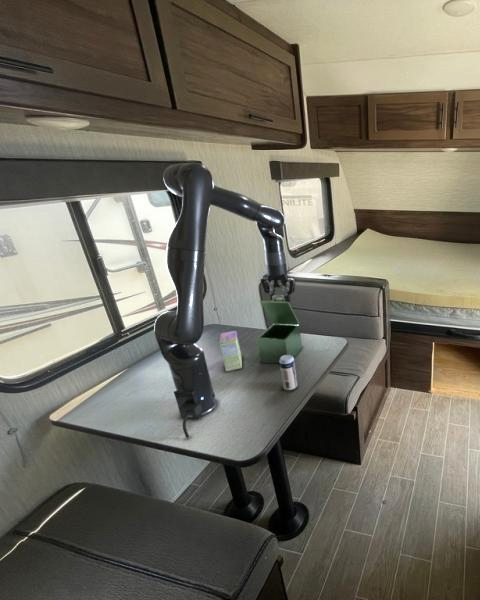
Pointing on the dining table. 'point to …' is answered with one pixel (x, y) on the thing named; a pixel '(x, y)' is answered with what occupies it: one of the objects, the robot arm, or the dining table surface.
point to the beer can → (288, 372)
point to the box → (230, 350)
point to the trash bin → (279, 342)
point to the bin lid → (280, 311)
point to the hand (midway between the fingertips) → (281, 302)
